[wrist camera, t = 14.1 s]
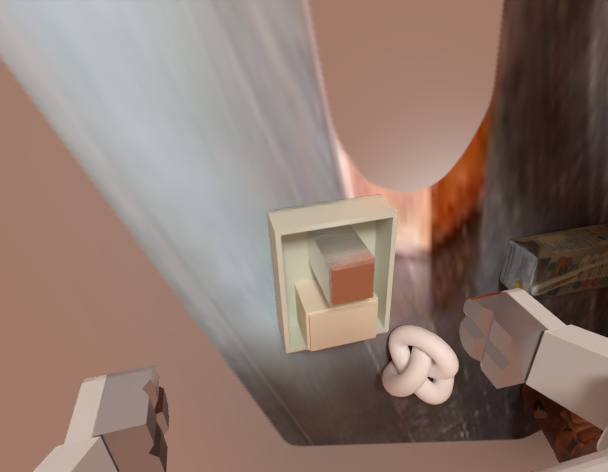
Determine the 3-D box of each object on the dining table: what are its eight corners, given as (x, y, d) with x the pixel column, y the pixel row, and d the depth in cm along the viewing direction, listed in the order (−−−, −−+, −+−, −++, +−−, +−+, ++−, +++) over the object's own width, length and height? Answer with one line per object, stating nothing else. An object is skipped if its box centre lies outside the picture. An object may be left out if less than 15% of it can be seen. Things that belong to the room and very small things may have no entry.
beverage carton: (507, 235, 58) (541, 260, 52) (616, 217, 62) (658, 238, 56) (496, 280, 62) (526, 307, 56) (598, 260, 66) (636, 284, 60)
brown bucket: (583, 323, 72) (685, 407, 57) (595, 376, 83) (684, 459, 68) (497, 373, 74) (574, 468, 59) (519, 419, 85) (589, 510, 70)
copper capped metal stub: (346, 219, 49) (377, 260, 41) (346, 253, 51) (375, 299, 43) (306, 226, 48) (329, 269, 40) (308, 260, 50) (330, 308, 42)
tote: (380, 193, 49) (398, 211, 45) (373, 307, 58) (388, 331, 54) (266, 210, 46) (274, 231, 42) (278, 327, 55) (286, 353, 51)
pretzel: (373, 318, 59) (400, 364, 52) (446, 304, 61) (482, 346, 54) (369, 372, 65) (392, 420, 57) (436, 357, 67) (467, 401, 60)
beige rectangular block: (360, 270, 53) (380, 301, 48) (359, 305, 56) (377, 338, 51) (294, 283, 51) (307, 316, 46) (296, 318, 54) (308, 353, 49)
